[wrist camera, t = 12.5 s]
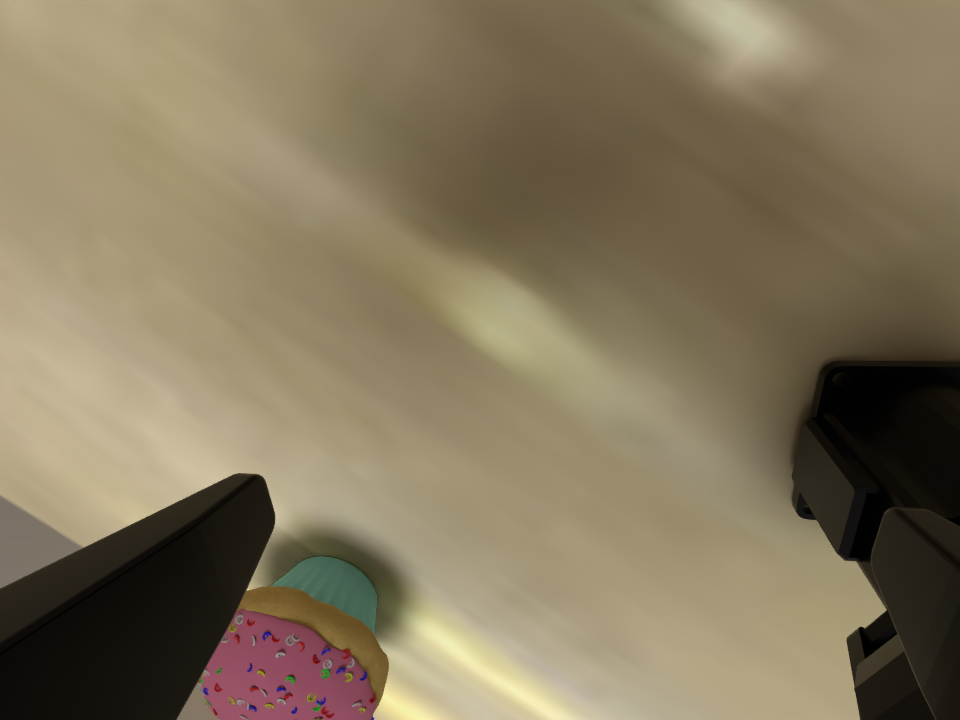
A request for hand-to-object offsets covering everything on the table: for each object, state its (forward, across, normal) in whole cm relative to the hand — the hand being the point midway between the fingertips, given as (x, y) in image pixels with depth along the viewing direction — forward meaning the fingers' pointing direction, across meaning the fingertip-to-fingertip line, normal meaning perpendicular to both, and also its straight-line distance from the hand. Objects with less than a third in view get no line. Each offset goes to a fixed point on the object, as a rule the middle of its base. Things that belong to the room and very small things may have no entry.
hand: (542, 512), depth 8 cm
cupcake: (+12, +12, +16) cm, 23 cm away
